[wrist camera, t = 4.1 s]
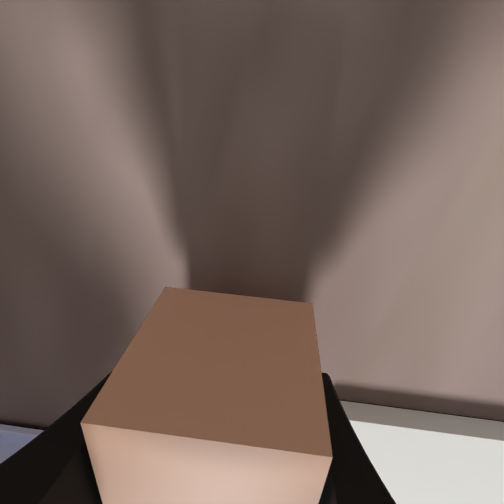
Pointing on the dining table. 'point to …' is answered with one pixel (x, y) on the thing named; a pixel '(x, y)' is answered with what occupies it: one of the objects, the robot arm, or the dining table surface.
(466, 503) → the mat
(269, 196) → the dining table surface
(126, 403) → the cube
